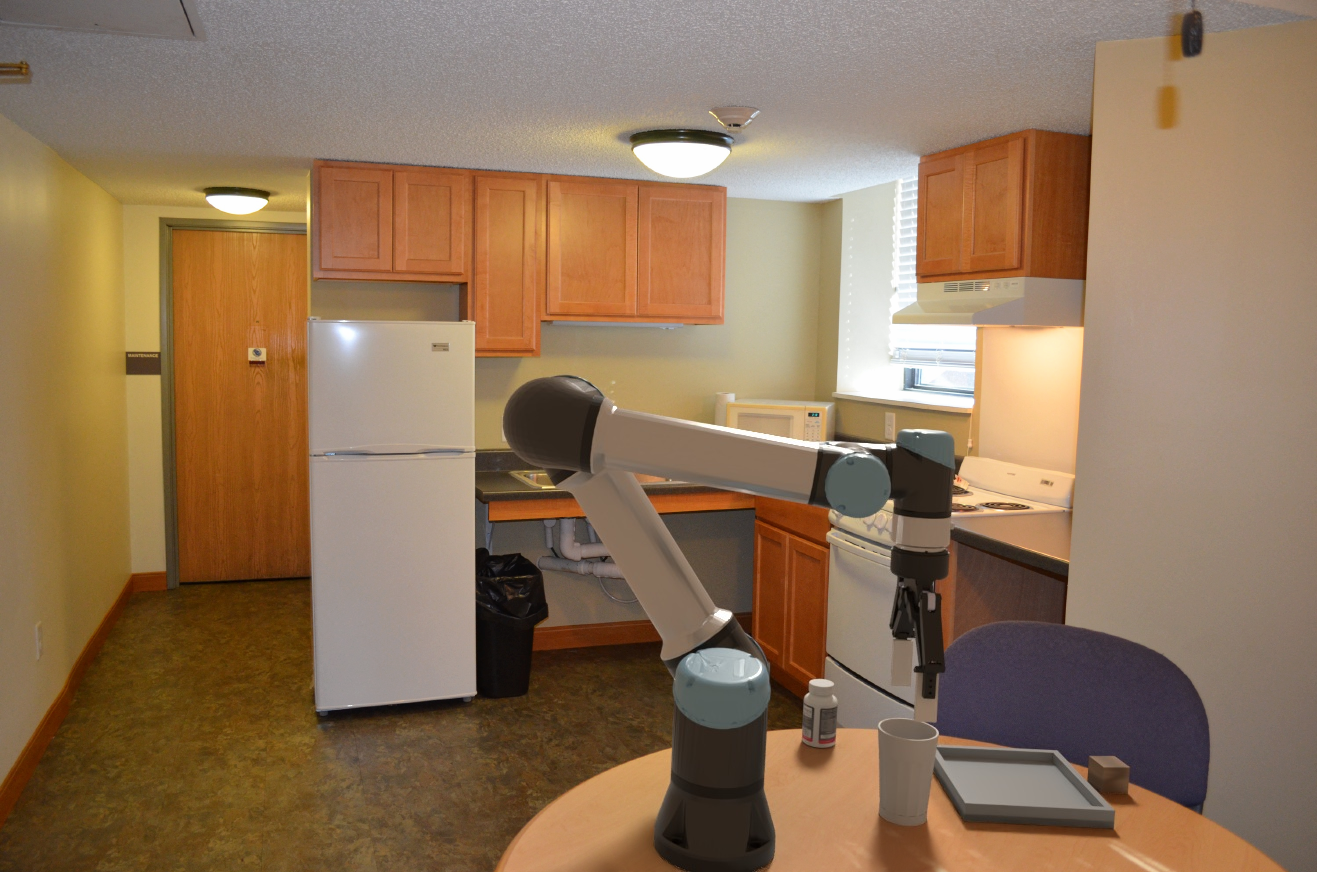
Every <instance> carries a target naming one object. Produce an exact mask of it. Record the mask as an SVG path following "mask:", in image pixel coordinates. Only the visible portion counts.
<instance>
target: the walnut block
mask: <svg viewBox="0 0 1317 872" xmlns="http://www.w3.org/2000/svg"><path fill="white" fill-rule="evenodd" d="M1130 769H1131V767H1130V766H1129V765H1127V764H1126V763H1125V762H1123V761H1122V760H1120V759H1119V758H1118V757H1116V756H1115V755H1089V756H1088V766H1087V780H1086V781H1087V782H1088V783H1089V784H1090V785H1091V786H1092V787H1093V788H1094V789H1095V790H1096V791H1097V792H1098V793H1100V794H1129V784H1130V772H1131V770H1130Z"/></svg>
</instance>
